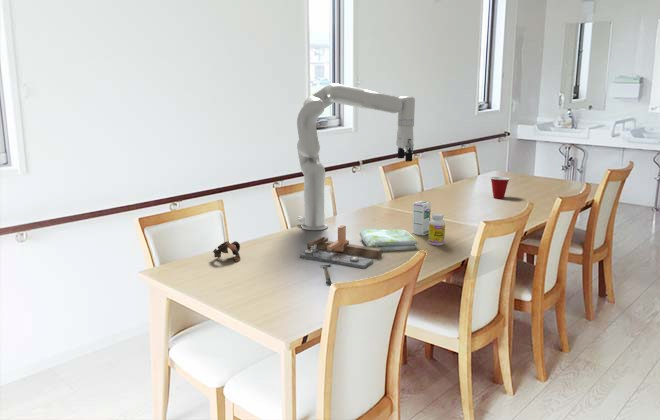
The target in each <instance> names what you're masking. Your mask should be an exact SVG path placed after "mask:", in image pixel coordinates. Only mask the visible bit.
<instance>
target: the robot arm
mask: <svg viewBox="0 0 660 420" xmlns="http://www.w3.org/2000/svg"><path fill="white" fill-rule="evenodd" d="M334 103H335V104H340V105H345V106H350V107H355V108H360V109H367V110H375V111H379V112H385V113H390V114H397V131H396V133H397V134H396V146H397V159H404V158H405V163H406V162H408V163H409V162H412V161H413V153H414V145H415V144H414V127H415V108H416V106H415V105H416V98H415V97H414V96H410V95H404V96H395V95H390V94H385V93H380V92H377V91H372V90H369V89H365V88H361V87H356V86H350V85H346V84H340V83H335V82H332V83H329V84H327V85H326V86H324V87H322V88H321V89H320V90H318V91H316V92H314V93H313V94H310V96H308V97H307V98H306V99H305V100H304V102H303V105H302V107H301V108H300V110H299V112H298V114H297V120H296V122H297V123H296V125H297V127H296V128H297V134H298V141H297V144H296V145H297V146H296V149H297V154H298V159H299V166H300V169H301V172H302V174H303V211H304V213H303V216H300V215H299V216H298V217H297V222H301V224H300V227H302V228H301V229H302V230H303V229H304V230H307V231H322V230H325V229H328V227H329V224H328V223H327V222H325V219H326V218H325V217H326V215H325V183H326V169H325V166H324V165H323V163H322V162H320V155H319V153H320V152H321V151H320V149H321V146H320V142H319V137H318V131H317V120H318V118H319V117H320V116H321V115H323V113H324V111H325V109H326V108H328V107H329V106H331V105H333V104H334Z"/></svg>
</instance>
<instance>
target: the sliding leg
mask: <svg viewBox="0 0 660 420" xmlns="http://www.w3.org/2000/svg"><path fill="white" fill-rule="evenodd" d="M346 228H347V226H346V225H343V224H342V225H340V226H339V227H337V240H335V241H333V242H334V243H332V244H330V245H328V246H327V250H326V252H327V253H332V251H331V250H333V249H334V250H336V251H344V245H345V244H350V240H348V239H346V236H347V235H346V234H347V231H346V230H347V229H346ZM336 251H335V252H336Z"/></svg>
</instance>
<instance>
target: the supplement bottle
mask: <svg viewBox="0 0 660 420" xmlns="http://www.w3.org/2000/svg"><path fill="white" fill-rule="evenodd" d="M431 218H432V219H430V222H429V233H428V244H430V245H432V246H443V245H444V244H445V236H446V234H445V233H446V221H445V220H444V214H443V213H440V212H436V213H435V212H434V213H432V214H431Z"/></svg>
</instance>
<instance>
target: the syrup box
mask: <svg viewBox="0 0 660 420" xmlns="http://www.w3.org/2000/svg"><path fill="white" fill-rule="evenodd" d="M431 204H432V203H431V202H430V201H426V200H419V201H416V202H413V203H412V234H414V235H417V236H425V235H429V222H430V220H431Z"/></svg>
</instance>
